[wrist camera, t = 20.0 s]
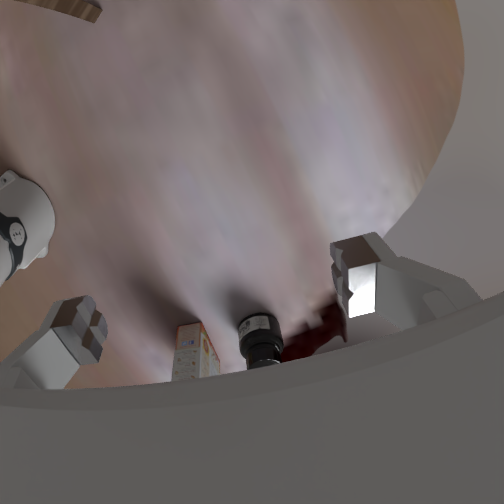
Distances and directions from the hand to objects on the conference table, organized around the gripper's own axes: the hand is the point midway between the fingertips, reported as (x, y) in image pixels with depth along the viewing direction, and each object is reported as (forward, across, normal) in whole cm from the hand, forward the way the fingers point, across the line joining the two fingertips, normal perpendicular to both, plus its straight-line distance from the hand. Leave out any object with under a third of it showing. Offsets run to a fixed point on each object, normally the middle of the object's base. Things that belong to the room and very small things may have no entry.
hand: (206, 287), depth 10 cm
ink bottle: (+41, +2, +43) cm, 60 cm away
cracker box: (+41, +16, +45) cm, 63 cm away
